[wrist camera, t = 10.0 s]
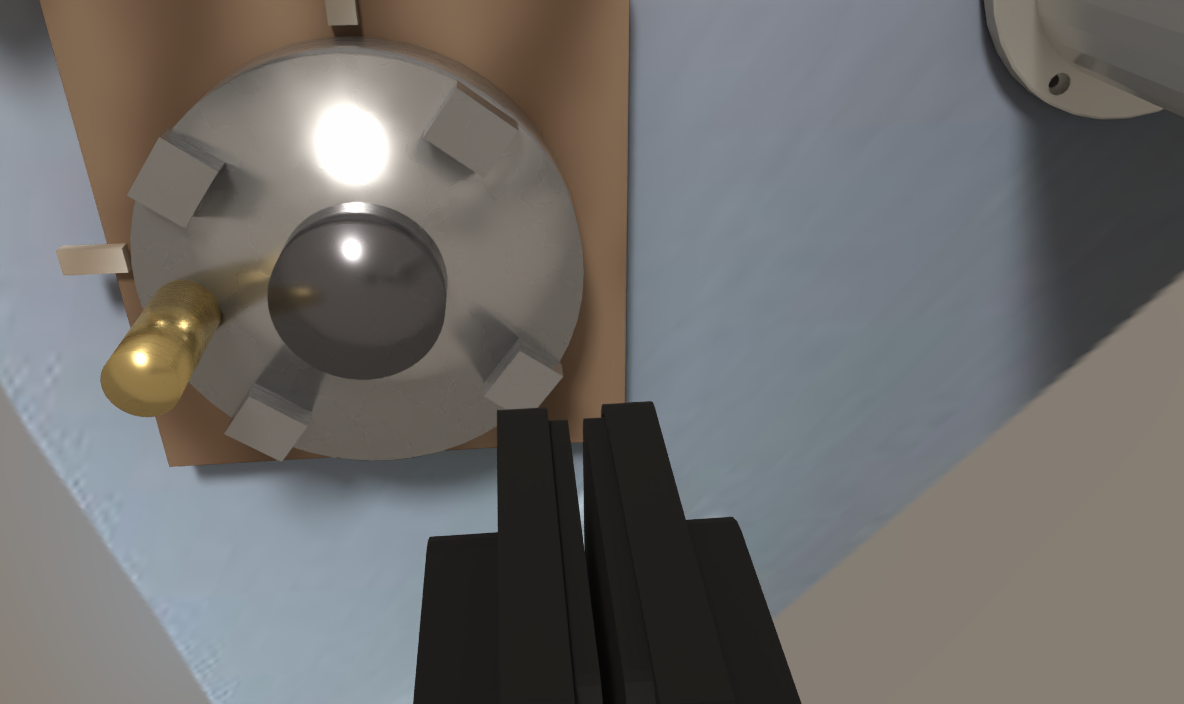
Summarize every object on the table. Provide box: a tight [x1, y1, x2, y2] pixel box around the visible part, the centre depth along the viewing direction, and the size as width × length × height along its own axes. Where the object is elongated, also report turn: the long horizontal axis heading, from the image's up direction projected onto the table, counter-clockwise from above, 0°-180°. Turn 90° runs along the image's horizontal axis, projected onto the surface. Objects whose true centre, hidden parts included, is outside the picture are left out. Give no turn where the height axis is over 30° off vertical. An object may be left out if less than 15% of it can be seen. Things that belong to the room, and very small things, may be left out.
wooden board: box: [39, 0, 629, 467], centre depth 38 cm, size 22×20×2 cm
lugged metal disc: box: [101, 36, 584, 462], centre depth 34 cm, size 16×16×8 cm
